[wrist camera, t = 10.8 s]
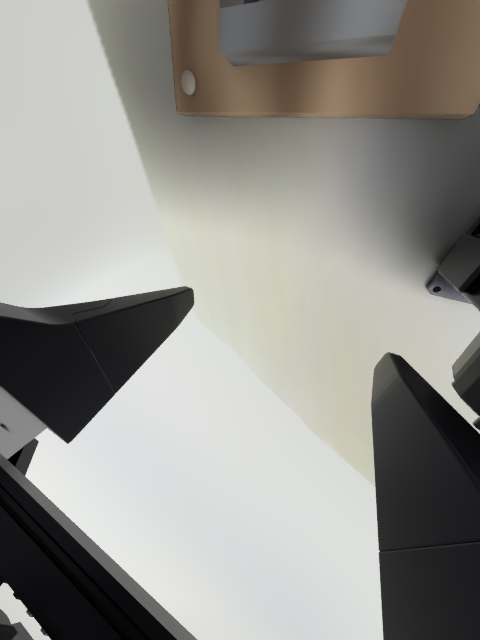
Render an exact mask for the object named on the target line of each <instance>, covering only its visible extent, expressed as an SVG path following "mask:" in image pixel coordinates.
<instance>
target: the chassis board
mask: <svg viewBox="0 0 480 640" xmlns="http://www.w3.org/2000/svg"><path fill="white" fill-rule="evenodd" d="M168 9H169V21H170V34H171V46H172V59H173V71H174V84H175V96H176V109H177V112H178V113H180V114H183V115H185V116H241V117H320V118H399V119H466V118H467V117H469V116H471V115H473V114H474V113H475V111H476V110H477V108H478V106H479V104H480V0H168Z"/></svg>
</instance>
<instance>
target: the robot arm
mask: <svg viewBox="0 0 480 640" xmlns="http://www.w3.org/2000/svg"><path fill="white" fill-rule="evenodd" d="M437 270H438V273H437V275H436V276H435V277H434V279H433V280H432V281H431V283H430V284H429V285H428V287H427V291H428V292H429V293H430V294H432V295H435V296H440V297H444V298H448V299H452V300H457V301H461V302H465V303H469V304H473V305H474V306H475V307H476V308H477V309H478V310H479V311H480V218H479V219H478V221H477V222H476V223H475V225H474V226H473V227H472V229H471V230H470V231H469V233H468V234H466V235H464V236H462V237H461V238H460V239H459V240H458V242H457V243H456V244H455V246H454V247H453V248H452V250H451V251H450V252H449V254H448V255H447V256H446V258H445V259H444V260H443V262H442V263H441V264H440V266H439V267H438V269H437ZM434 287H439V289H438V290H433V288H434ZM193 305H194V292H193V289H192V288H189V287H186V286H184V287H178V288H172V289H167V290H160V291H154V292H148V293H142V294H136V295H130V296H124V297H118V298H114V299H113V298H112V299H106V300H99V301H93V302H86V303H78V304H70V305H62V306H54V307H45V308H24V307H17V306H13V305H8V304H4V303H0V586H1V584H2V583H3V582H4V583H7V584H8V585H9V586H10V587H11V589H12V590H13V591H14V594H13V595H14V597H15V598H16V599H19V600H21V601H22V603H23V604H24V605H25V607H27V609H28V610H27V611H26V612H27V614H28V615H29V616H30V617H34V618H35V619H36V621H37V622H38V623H39V624H40V626H41V627H42V628H41V632H42V633H43V634H44V635H46V636H49V637H50V639H51V640H197V639H196V638H195V637H194V636H193V635H192V634H190V632H188V631H187V630H186V629H185V628H184V627H183V626H182V625H181V624H180V623H179V622H178V621H177V620H176V619H175V618H174V617H173V616H172V615H170V614H169V613H168V612H167V611H166V610H165V609H164V608H163V607H162V606H161V605H160V604H159V603H158V602H157V601H156V600H155V599H154V598H153V597H152V596H150V595H149V594H148V593H147V592H146V591H145V590H144V589H143V588H142V587H141V586H140V585H139V584H138V583H137V582H136V581H135V580H134V579H133V578H132V577H130V576H129V575H128V574H127V573H126V572H125V571H124V570H123V569H122V568H121V567H120V566H119V565H118V564H117V563H116V562H115V561H114V560H113V559H111V558H110V557H109V556H108V555H107V554H106V553H105V552H104V551H103V550H102V549H101V548H100V547H99V546H98V545H96V543H95V542H93V541H92V540H91V539H90V538H89V537H88V536H87V535H86V534H85V533H84V532H83V531H82V530H81V529H80V528H79V527H78V526H76V524H75V523H74V522H72V521H71V520H70V519H69V518H68V517H67V516H66V515H65V514H64V513H63V512H62V511H61V510H59V508H58V507H56V505H55V504H54V503H52V502H51V501H50V500H49V499H48V498H47V497H46V496H45V495H44V494H43V493H42V492H41V491H40V490H39V489H38V488H37V487H36V486H35V485H33V484H32V483H31V482H30V481H29V480H28V479H27V478H26V477H25V474H26V472H27V469H28V467H29V464H30V462H31V459H32V457H33V454H34V452H35V449H36V447H37V444H38V441H37V440H36V439H35V437H36V436H37V435H39V434H40V433H41V432H42V431H44V430H45V429H46V428H48V429H49V430H51V431H52V432H53V433H54V434H56V435H57V436H58V437H60V438H61V439H62V440H64V441H65V442H66V443H67V444H68V443H69V442H71V441H72V440H73V439H74V438H75V437H76V435H77V434H78V433H79V432H80V431H81V430H82V429H83V428H84V427H85V426H86V425H87V424H88V423H89V422H90V421H91V420H92V418H93V417H94V416H95V415H96V414H97V413H98V412H99V411H100V410H101V409H102V408H103V407H104V406H105V405H106V403H107V402H108V401H109V400H110V399H111V398H112V397H113V396H114V395H115V393H116V392H117V391H118V390H119V389H120V388H121V387H122V386H123V385H124V384H125V383H126V382H127V381H128V380H129V378H130V377H131V376H132V375H133V374H134V373H135V372H136V371H137V370H138V369H139V368H140V367H141V366H142V365H143V363H144V362H145V361H146V360H147V359H148V358H149V357H150V356H151V355H152V354H153V353H154V352H155V351H156V349H157V348H158V347H159V346H160V345H161V344H162V343H163V342H164V341H165V340H166V339H167V338H168V337H169V336H170V334H171V333H172V332H173V331H174V330H175V329H176V328H177V327H178V326H179V324H180V323H181V322H182V320H183V319H184V318H185V316H186V315H187V313H188V312H189V311H190V310H191V308H192V307H193ZM452 369H453V377H454V379H455V380H454V382H453V383H452V386H453V388H454V389H455V391H456V392H457V393H458V395H459V396H460V398H461V399H462V400H463V401H464V402H465V403H466V404H467V405H468V406H469V407H470V408H471V409H472V410H473V411H474V412H475V413H476V414H477V415H478V416H479V417H478V418H477V419H476V420H475V421H474V422H473V425H474V426H475V427H476V428H477V429H479V430H480V332H479V334H478V335H477V336H476V337H475V338H474V340H473V341H472V342H471V343H470V345H469V346H468V347H467V348H466V350H465V351H464V352H463V353H462V354H461V356H460V357H459V358H458V359H457V361H456V362H455V363H454V364H453V366H452ZM371 411H372V430H373V448H374V467H375V485H376V504H377V521H378V541H379V550H380V552H379V563H380V582H381V600H382V618H383V637H384V640H480V434H479V433H478V432H477V431H476V430H475V429H474V428H473V427H472V426H471V425H470V424H469V423H468V422H467V421H466V420H465V419H464V418H463V417H462V416H461V415H460V414H459V413H458V412H457V411H456V410H455V409H454V408H453V407H452V406H451V405H450V404H449V403H448V402H447V401H446V400H445V399H444V398H443V397H442V396H441V395H440V394H439V393H438V392H437V391H436V390H435V389H434V388H433V387H432V386H431V385H430V384H429V383H428V382H427V381H426V380H425V379H423V378H422V377H421V376H420V375H419V374H418V373H417V372H416V371H415V370H414V369H413V368H412V367H411V366H410V365H409V364H408V363H407V362H406V361H405V360H404V359H403V358H402V357H401V356H399V355H396V354H393V353H390V352H388V353H386V354H385V355H384V356H383V357H382V359H381V360H380V361H379V362H378V364H377V365H376V367H375V369H374V377H373V389H372V401H371ZM0 640H33V639H32V637H31V636H30V635H29V633H28V632H27V630H26V629H25V628H24V627H23V625H22V624H21V623H20V622H19V623H15V624H11V623H10V621H9V618H8V617H7V615H6V614H5V613H4V612H3V611H2V610H1V609H0Z"/></svg>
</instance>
